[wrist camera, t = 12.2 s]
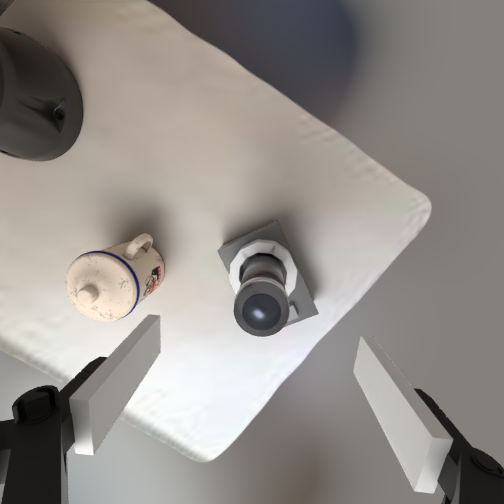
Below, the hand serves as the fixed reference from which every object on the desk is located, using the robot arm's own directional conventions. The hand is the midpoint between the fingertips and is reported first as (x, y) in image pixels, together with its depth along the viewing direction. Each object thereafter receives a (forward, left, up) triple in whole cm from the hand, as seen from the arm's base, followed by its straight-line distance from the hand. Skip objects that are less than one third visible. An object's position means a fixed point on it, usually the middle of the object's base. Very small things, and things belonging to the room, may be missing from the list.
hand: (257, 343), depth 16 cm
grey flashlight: (0, 0, -17) cm, 17 cm away
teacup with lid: (-8, -17, -22) cm, 28 cm away
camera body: (+2, 0, -21) cm, 21 cm away
